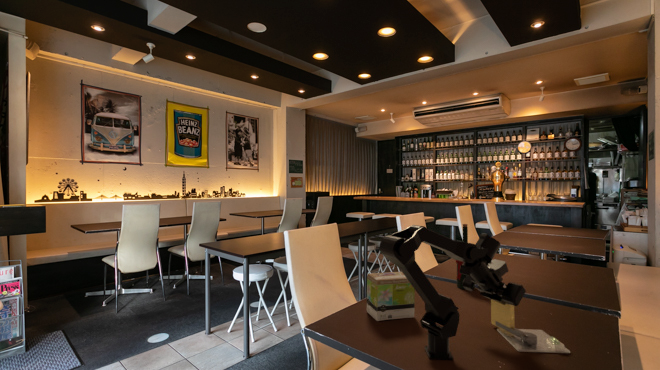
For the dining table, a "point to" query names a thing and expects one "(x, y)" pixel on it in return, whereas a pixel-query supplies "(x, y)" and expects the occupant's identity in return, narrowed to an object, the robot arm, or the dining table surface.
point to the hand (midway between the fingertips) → (504, 303)
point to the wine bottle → (462, 276)
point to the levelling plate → (543, 342)
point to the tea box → (390, 296)
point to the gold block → (509, 322)
